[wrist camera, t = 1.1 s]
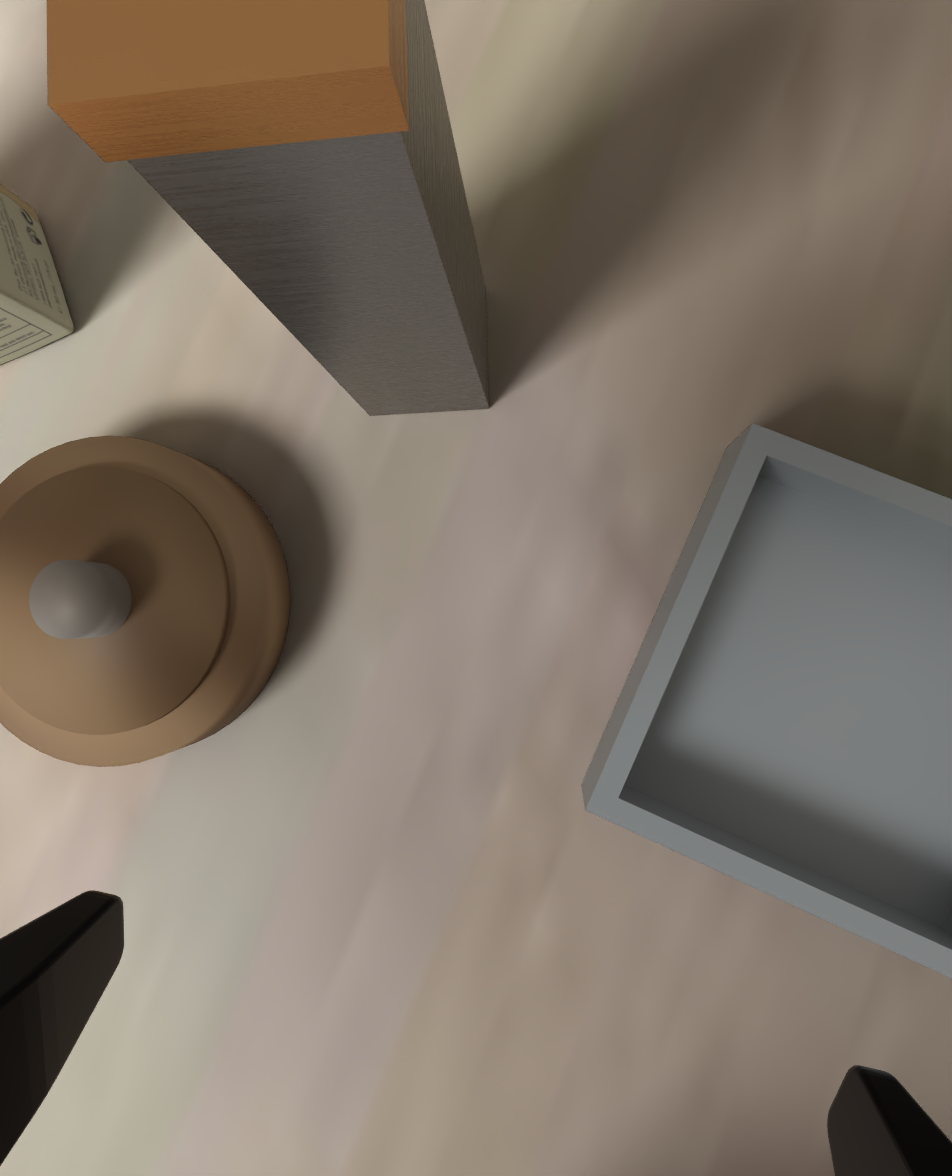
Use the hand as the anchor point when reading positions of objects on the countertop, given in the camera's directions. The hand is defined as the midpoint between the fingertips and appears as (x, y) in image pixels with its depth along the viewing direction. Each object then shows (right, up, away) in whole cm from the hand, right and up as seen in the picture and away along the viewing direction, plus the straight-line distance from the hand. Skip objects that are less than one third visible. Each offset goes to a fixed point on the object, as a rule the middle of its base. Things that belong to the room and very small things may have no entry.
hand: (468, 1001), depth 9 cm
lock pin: (-1, +12, +12) cm, 17 cm away
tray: (+10, +2, +11) cm, 14 cm away
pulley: (-10, +5, +13) cm, 17 cm away
